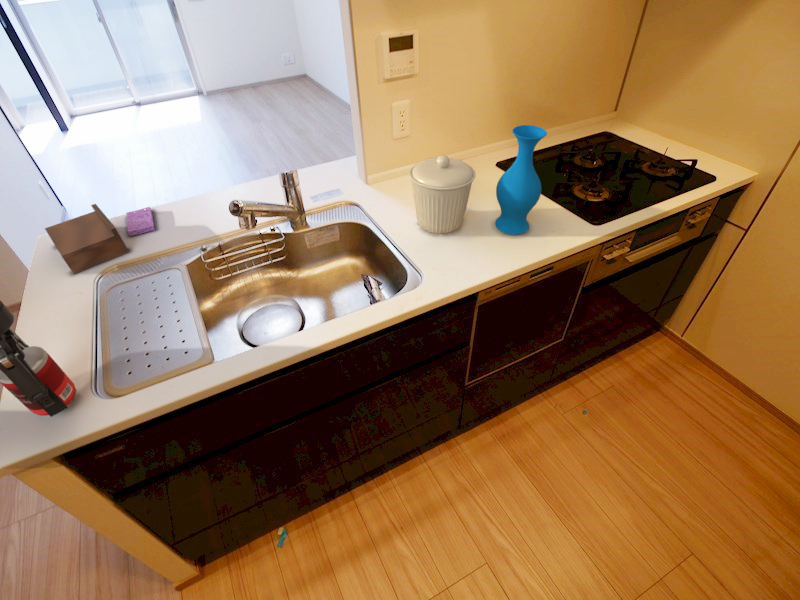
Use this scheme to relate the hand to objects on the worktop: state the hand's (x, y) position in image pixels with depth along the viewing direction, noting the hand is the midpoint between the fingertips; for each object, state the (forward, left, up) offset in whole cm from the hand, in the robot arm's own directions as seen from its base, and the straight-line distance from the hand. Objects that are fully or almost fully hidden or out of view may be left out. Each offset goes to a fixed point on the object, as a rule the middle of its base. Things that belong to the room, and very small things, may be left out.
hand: (52, 396), depth 81 cm
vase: (+113, -25, -2) cm, 116 cm away
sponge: (+35, +55, -2) cm, 66 cm away
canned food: (0, 0, -1) cm, 1 cm away
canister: (+99, -9, -2) cm, 100 cm away
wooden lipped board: (+20, +52, -2) cm, 56 cm away
